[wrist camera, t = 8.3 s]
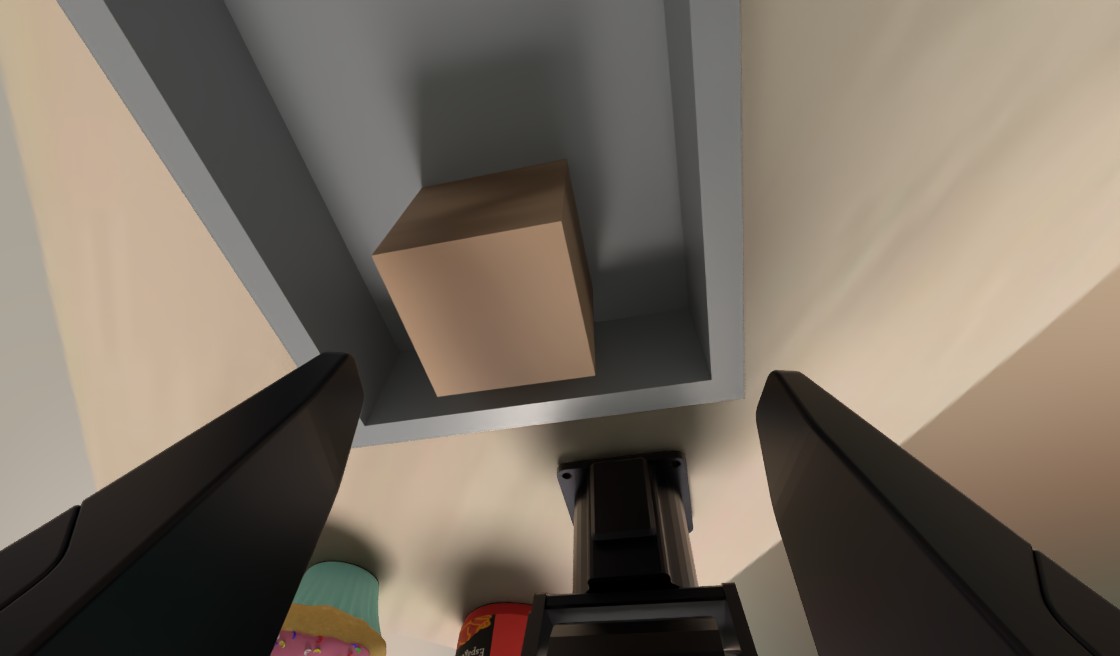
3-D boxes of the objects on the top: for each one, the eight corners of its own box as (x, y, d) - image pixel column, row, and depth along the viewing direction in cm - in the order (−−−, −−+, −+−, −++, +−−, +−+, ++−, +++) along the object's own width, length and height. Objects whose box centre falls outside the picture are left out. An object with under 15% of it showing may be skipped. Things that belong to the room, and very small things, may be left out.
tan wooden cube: (566, 158, 16) (561, 220, 12) (592, 289, 19) (595, 375, 15) (421, 187, 17) (371, 255, 13) (467, 309, 20) (437, 396, 16)
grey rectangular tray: (712, 313, 21) (744, 398, 16) (393, 362, 23) (351, 448, 19) (675, -397, 11) (733, -629, 6) (107, -190, 13) (-119, -265, 9)
